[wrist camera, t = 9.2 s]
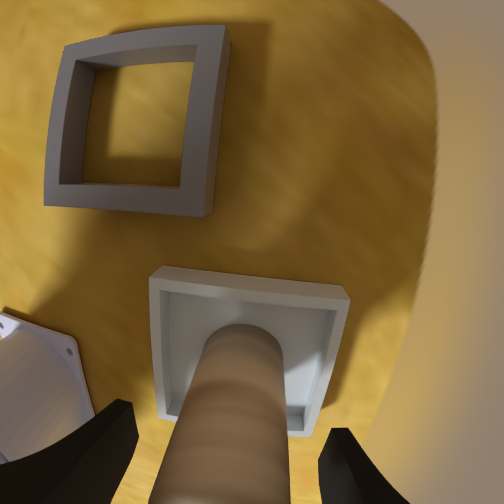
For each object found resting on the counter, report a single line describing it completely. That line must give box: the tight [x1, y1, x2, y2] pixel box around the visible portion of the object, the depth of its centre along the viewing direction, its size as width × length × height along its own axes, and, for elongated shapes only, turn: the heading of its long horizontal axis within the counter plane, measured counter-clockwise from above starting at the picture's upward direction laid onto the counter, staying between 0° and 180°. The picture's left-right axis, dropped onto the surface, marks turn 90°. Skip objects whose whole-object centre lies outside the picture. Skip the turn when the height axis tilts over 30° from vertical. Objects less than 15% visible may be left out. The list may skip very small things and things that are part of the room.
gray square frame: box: [44, 25, 231, 218], centre depth 11 cm, size 8×8×2 cm
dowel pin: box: [148, 324, 291, 504], centre depth 10 cm, size 4×4×9 cm
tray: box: [149, 265, 351, 437], centre depth 14 cm, size 8×8×2 cm
